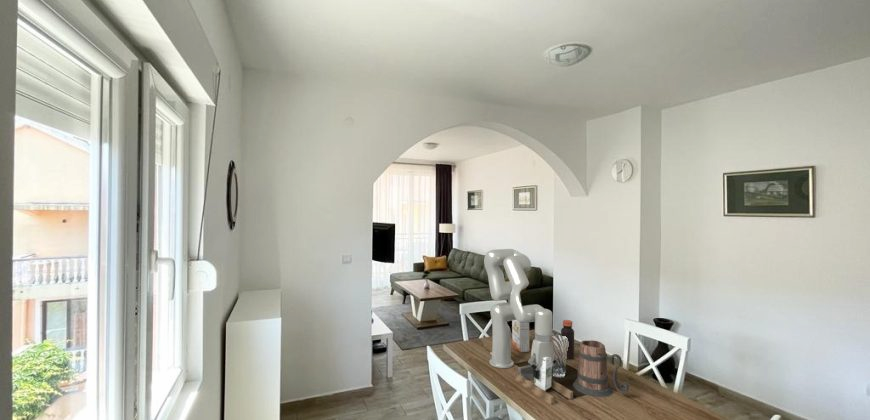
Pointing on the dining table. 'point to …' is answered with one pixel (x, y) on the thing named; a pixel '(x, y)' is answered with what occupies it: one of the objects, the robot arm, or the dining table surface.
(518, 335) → the cracker box
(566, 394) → the channel
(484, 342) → the dining table surface
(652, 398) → the dining table surface
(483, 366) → the dining table surface
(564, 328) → the bottle
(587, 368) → the tankard
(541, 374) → the syrup box
